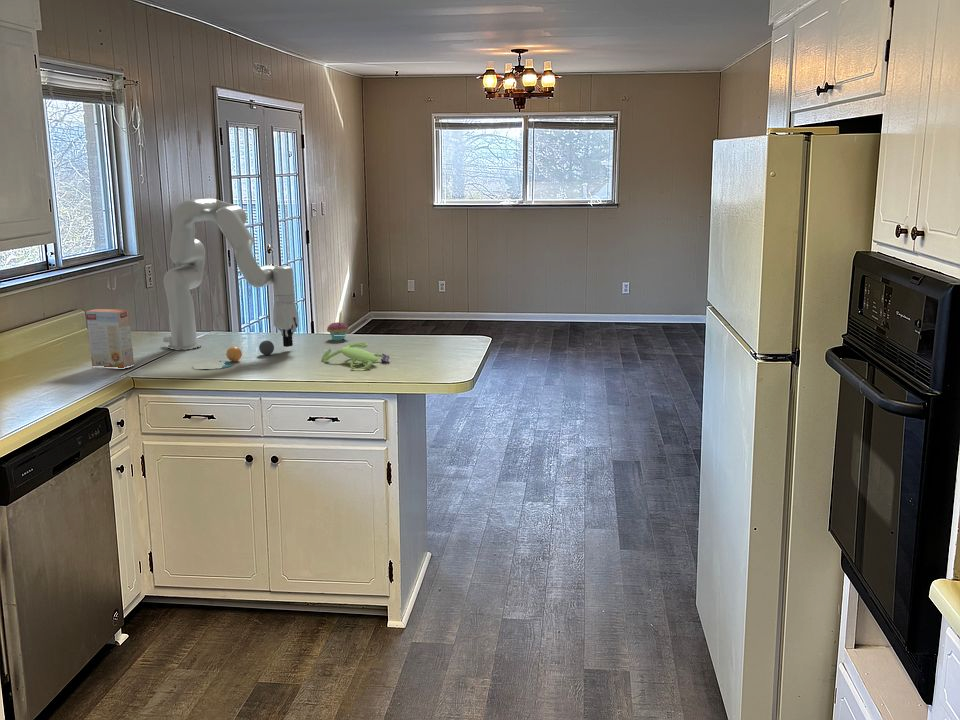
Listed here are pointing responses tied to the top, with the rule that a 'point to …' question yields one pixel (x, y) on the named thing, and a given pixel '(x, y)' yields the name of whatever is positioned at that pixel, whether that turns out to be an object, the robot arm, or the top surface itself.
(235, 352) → the object ball
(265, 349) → the dark gray ball
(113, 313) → the cracker box
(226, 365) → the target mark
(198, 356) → the top surface
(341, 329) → the cupcake
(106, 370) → the top surface
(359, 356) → the figurine
